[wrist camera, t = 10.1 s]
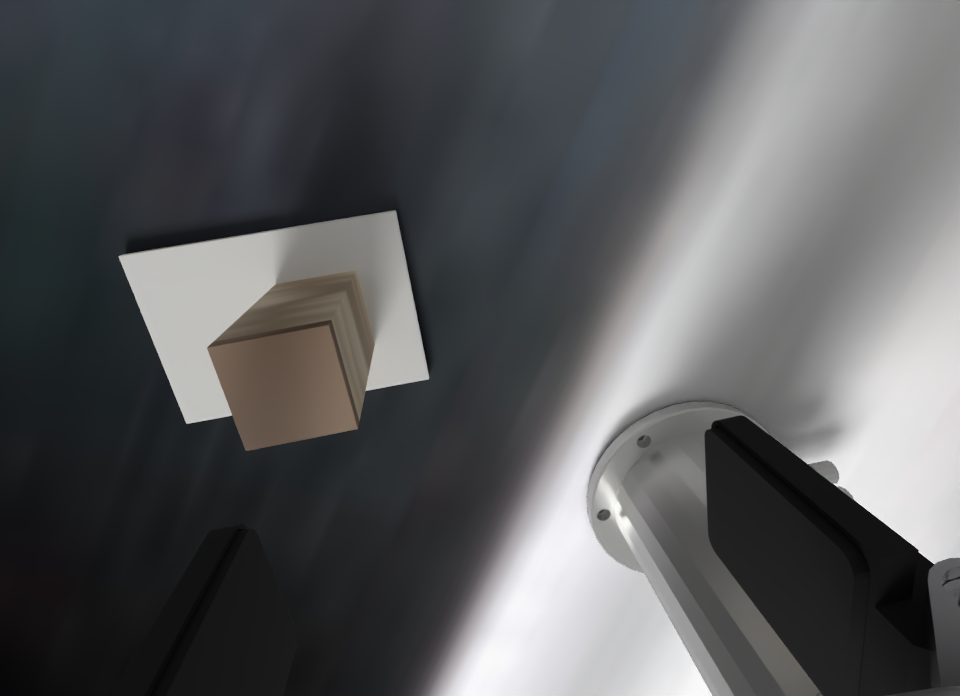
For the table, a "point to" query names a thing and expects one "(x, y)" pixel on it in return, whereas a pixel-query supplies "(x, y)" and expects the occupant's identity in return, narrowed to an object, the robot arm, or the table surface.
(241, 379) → the block
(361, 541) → the table surface
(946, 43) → the table surface
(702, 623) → the robot arm
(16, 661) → the table surface
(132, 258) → the mat
